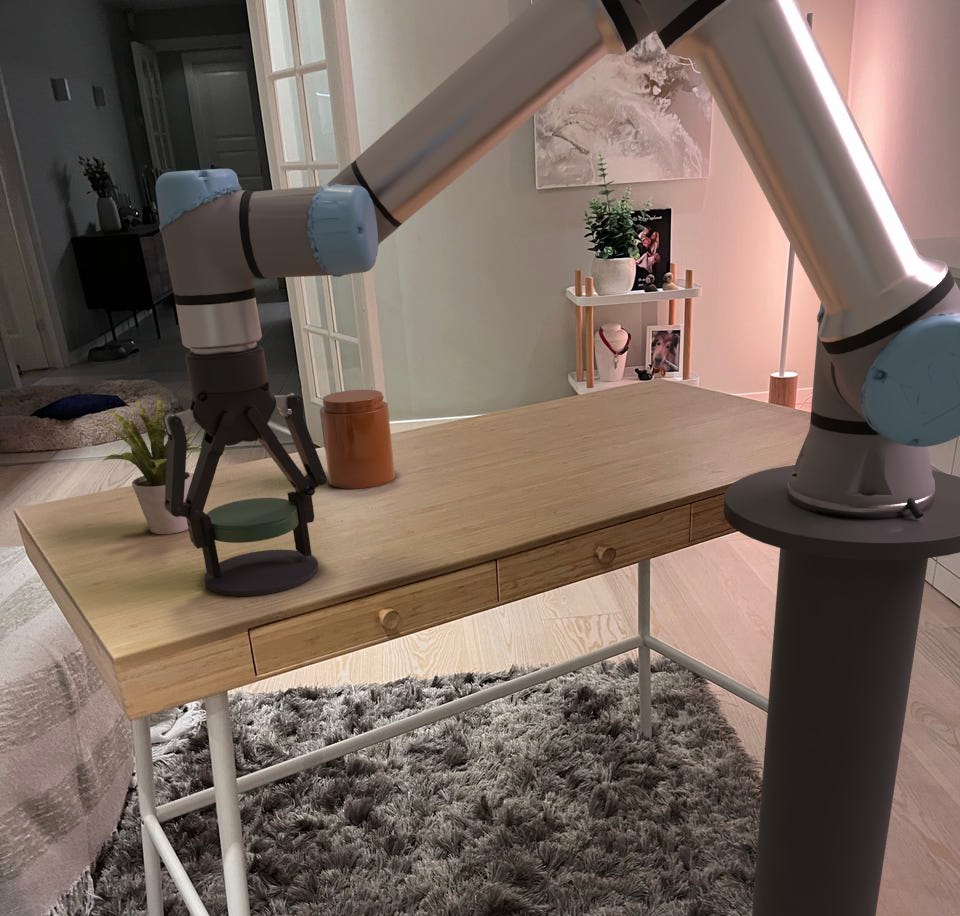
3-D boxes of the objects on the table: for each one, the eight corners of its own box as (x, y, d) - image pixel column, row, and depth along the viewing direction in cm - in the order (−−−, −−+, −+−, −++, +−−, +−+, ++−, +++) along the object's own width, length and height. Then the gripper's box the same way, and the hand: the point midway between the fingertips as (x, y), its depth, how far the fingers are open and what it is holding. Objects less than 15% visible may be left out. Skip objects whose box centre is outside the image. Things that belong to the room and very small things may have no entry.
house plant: (246, 534, 117) (222, 397, 110) (127, 557, 112) (94, 415, 105) (222, 504, 128) (199, 379, 121) (113, 524, 124) (83, 394, 116)
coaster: (336, 576, 102) (335, 571, 102) (225, 606, 97) (224, 600, 97) (294, 546, 112) (293, 541, 111) (191, 571, 106) (190, 566, 106)
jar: (406, 479, 134) (398, 395, 129) (345, 493, 130) (334, 406, 125) (377, 466, 141) (368, 385, 136) (318, 478, 137) (307, 396, 132)
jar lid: (203, 522, 105) (199, 506, 104) (289, 508, 107) (286, 492, 107) (214, 549, 97) (210, 532, 96) (307, 532, 99) (304, 515, 99)
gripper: (314, 328, 102) (340, 531, 111) (98, 358, 92) (147, 577, 102) (343, 335, 96) (368, 548, 106) (116, 367, 86) (166, 600, 96)
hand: (259, 563), depth 104 cm, fingers closed on jar lid, 9 cm apart
